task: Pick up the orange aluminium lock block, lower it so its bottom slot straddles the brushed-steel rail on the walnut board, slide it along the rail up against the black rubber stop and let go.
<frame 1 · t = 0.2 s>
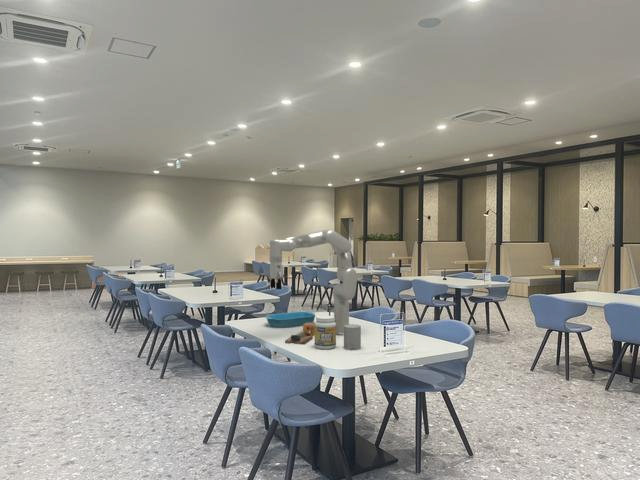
hand: (275, 288, 286), 31 cm above the table, tool pointing down, fingers open, 9 cm apart
supplement tub: (325, 347, 266), on the table
gray cylinder: (352, 348, 264), on the table
lock block: (309, 335, 299), on the table
rail board: (299, 340, 282), on the table
casserole dish: (290, 325, 334), on the table
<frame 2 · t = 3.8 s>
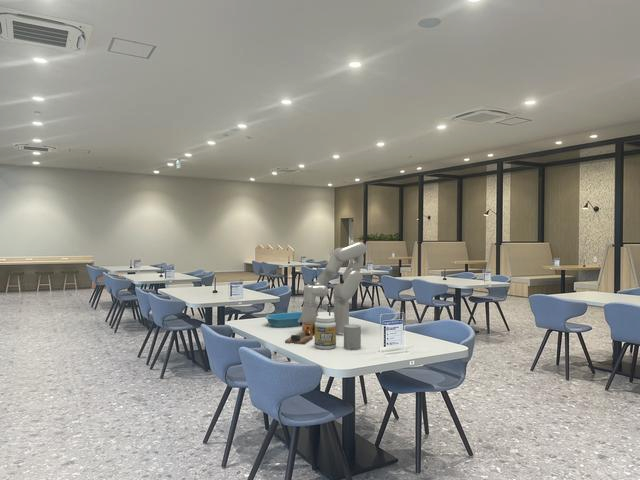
hand: (309, 332, 299), 1 cm above the table, tool pointing down, fingers closed on lock block, 6 cm apart
lock block: (309, 334, 299), on the table, touching gripper
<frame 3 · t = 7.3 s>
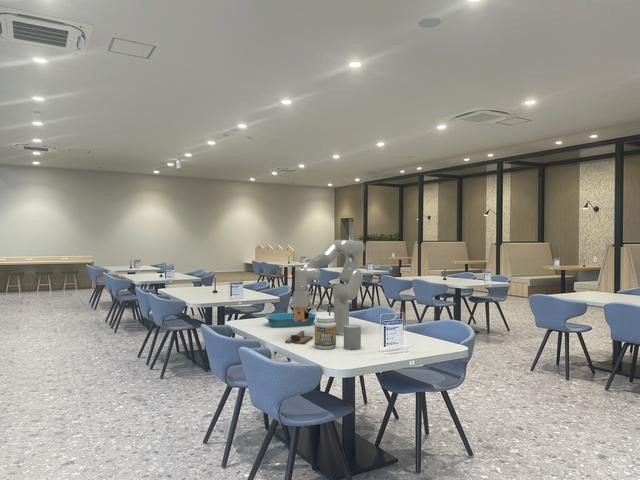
hand: (301, 318, 285), 13 cm above the table, tool pointing down, fingers closed on lock block, 6 cm apart
lock block: (301, 320, 286), point 11 cm above the table, touching gripper
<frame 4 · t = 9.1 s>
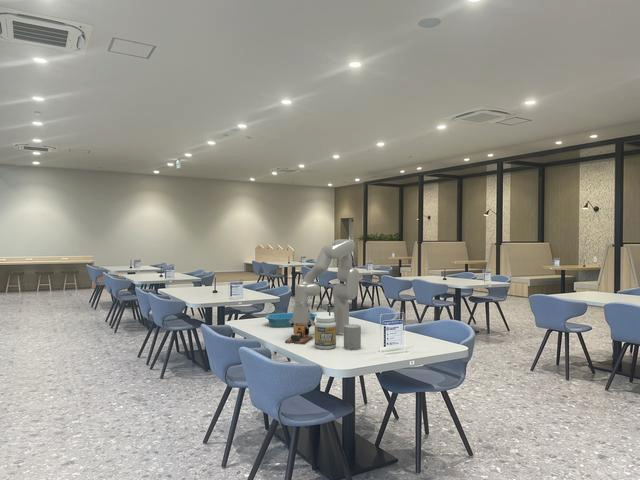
hand: (301, 334, 286), 3 cm above the table, tool pointing down, fingers closed on lock block, 6 cm apart
lock block: (301, 336, 286), point 2 cm above the table, touching gripper
when the fingers open (3 cm above the table, at t = 10.8 s): lock block stays where it is, resting on rail board.
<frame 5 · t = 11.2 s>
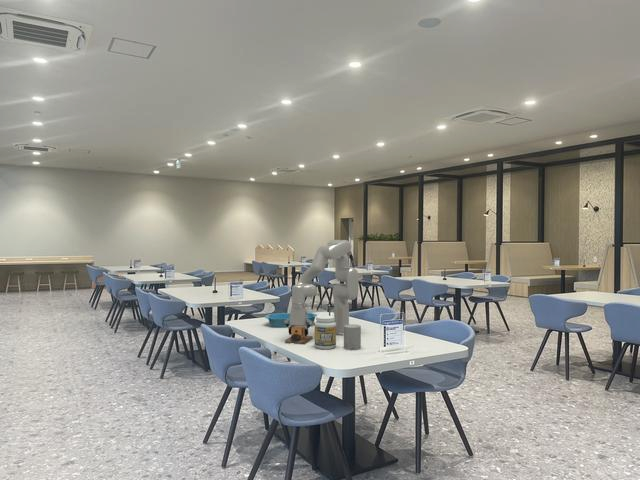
hand: (298, 335, 280), 4 cm above the table, tool pointing down, fingers open, 9 cm apart
lock block: (298, 338, 280), point 1 cm above the table, touching rail board
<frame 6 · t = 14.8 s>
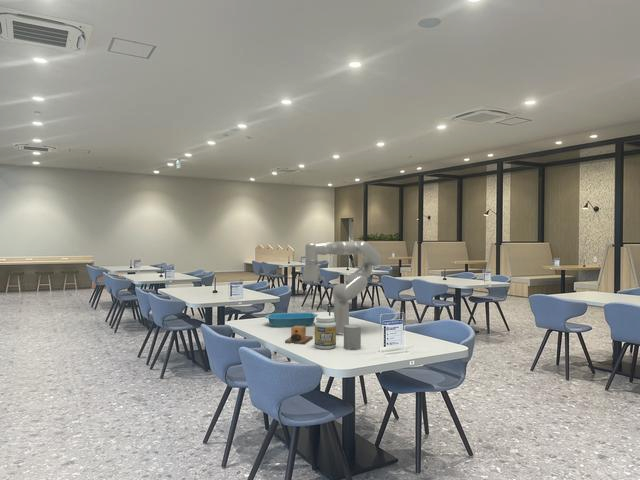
hand: (311, 290, 295), 28 cm above the table, tool pointing down, fingers open, 9 cm apart
at the end: lock block 0.4 cm from the target spot on the rail board, point 1.5 cm above the rail board's base; lock block tilted 0°; the gripper is holding nothing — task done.
